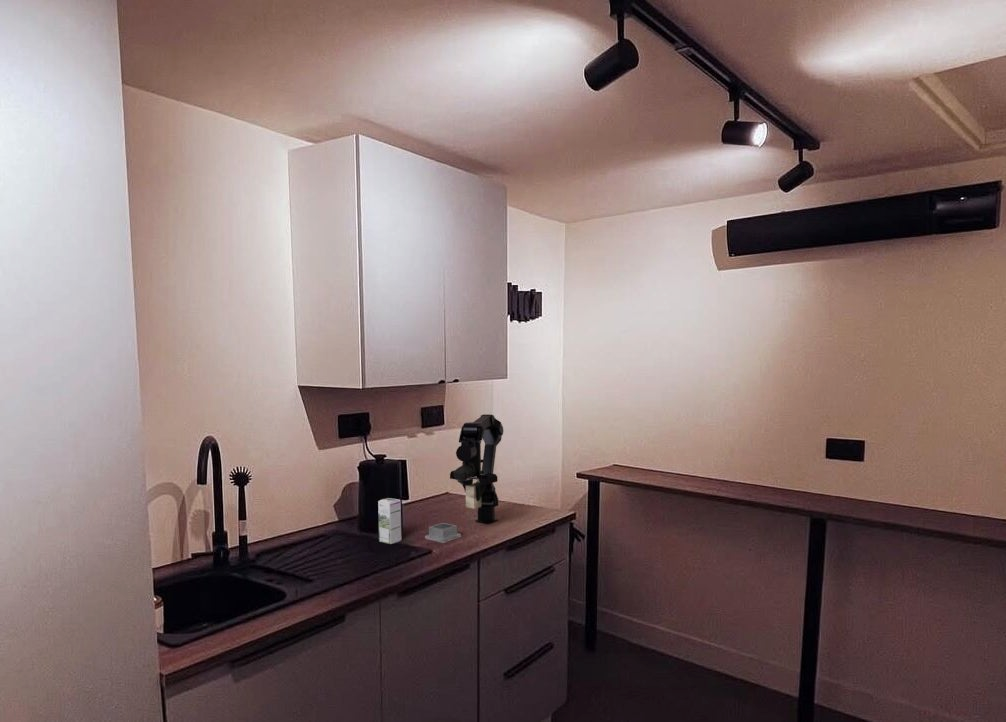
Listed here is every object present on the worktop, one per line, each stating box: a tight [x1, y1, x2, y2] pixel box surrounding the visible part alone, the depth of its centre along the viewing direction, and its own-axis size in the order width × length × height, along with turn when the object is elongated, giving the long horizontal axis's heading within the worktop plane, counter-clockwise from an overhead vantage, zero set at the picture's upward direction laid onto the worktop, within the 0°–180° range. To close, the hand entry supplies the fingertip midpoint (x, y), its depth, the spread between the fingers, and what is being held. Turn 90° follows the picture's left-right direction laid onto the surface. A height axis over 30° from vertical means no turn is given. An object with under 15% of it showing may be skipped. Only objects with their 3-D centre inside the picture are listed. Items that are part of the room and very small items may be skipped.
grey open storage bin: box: [424, 522, 462, 544], centre depth 215 cm, size 9×9×4 cm
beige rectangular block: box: [465, 483, 481, 510], centre depth 222 cm, size 4×4×8 cm
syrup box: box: [377, 497, 402, 545], centre depth 212 cm, size 6×6×14 cm
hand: (473, 500), depth 222 cm, fingers closed on beige rectangular block, 4 cm apart
